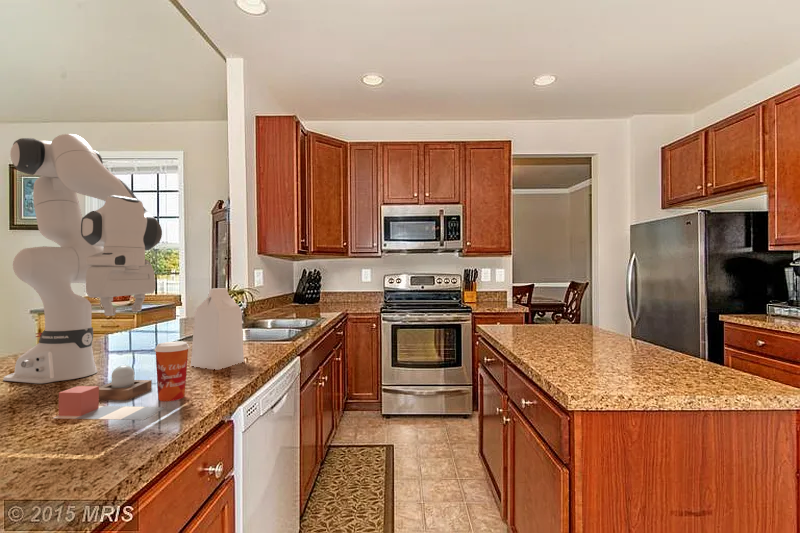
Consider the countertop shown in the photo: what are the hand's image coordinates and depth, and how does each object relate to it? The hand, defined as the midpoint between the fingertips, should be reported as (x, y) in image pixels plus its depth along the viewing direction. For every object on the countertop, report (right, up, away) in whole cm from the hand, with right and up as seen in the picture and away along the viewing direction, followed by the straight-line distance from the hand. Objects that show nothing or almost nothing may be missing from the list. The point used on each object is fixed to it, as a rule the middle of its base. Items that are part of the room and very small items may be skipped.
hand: (123, 313), depth 104 cm
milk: (+8, -22, +36) cm, 43 cm away
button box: (0, -21, 0) cm, 21 cm away
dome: (0, -20, 0) cm, 20 cm away
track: (+6, -21, -13) cm, 26 cm away
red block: (-1, -21, -13) cm, 24 cm away
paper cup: (+14, -21, -3) cm, 26 cm away
